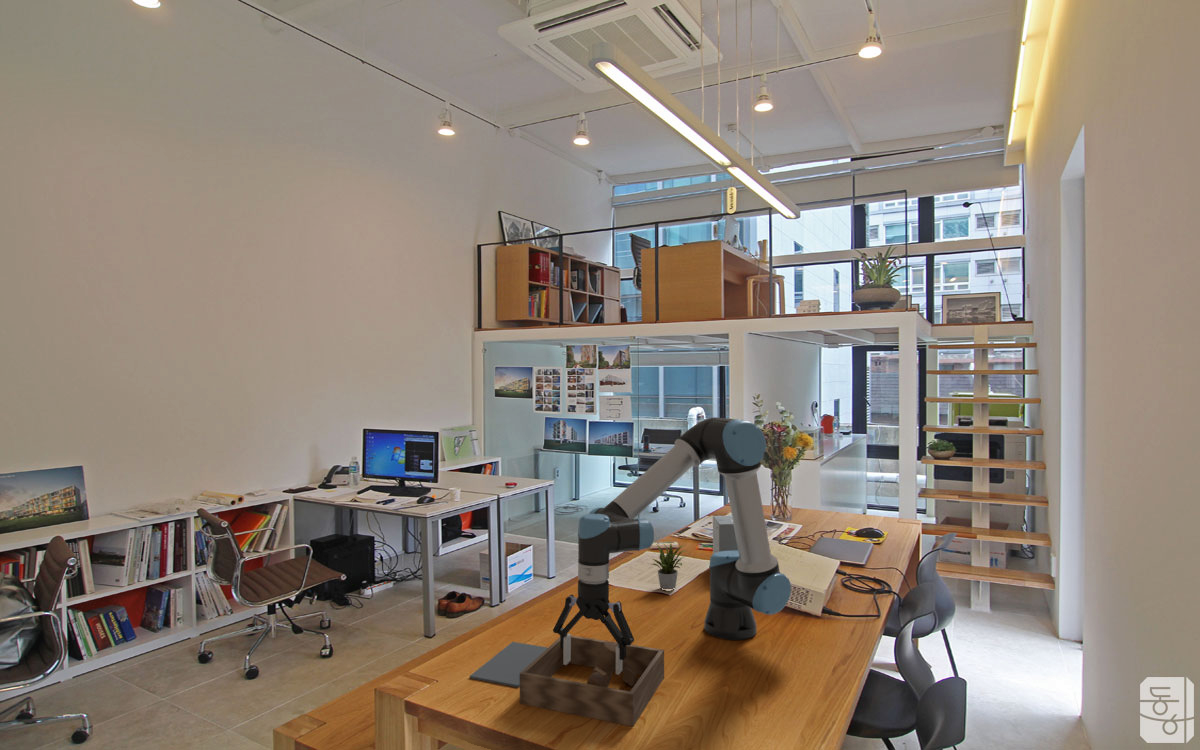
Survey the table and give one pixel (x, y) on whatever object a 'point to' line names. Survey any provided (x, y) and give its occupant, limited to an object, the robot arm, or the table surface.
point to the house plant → (668, 567)
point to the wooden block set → (609, 668)
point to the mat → (508, 664)
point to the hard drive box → (724, 534)
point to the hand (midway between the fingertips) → (592, 667)
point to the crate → (587, 697)
